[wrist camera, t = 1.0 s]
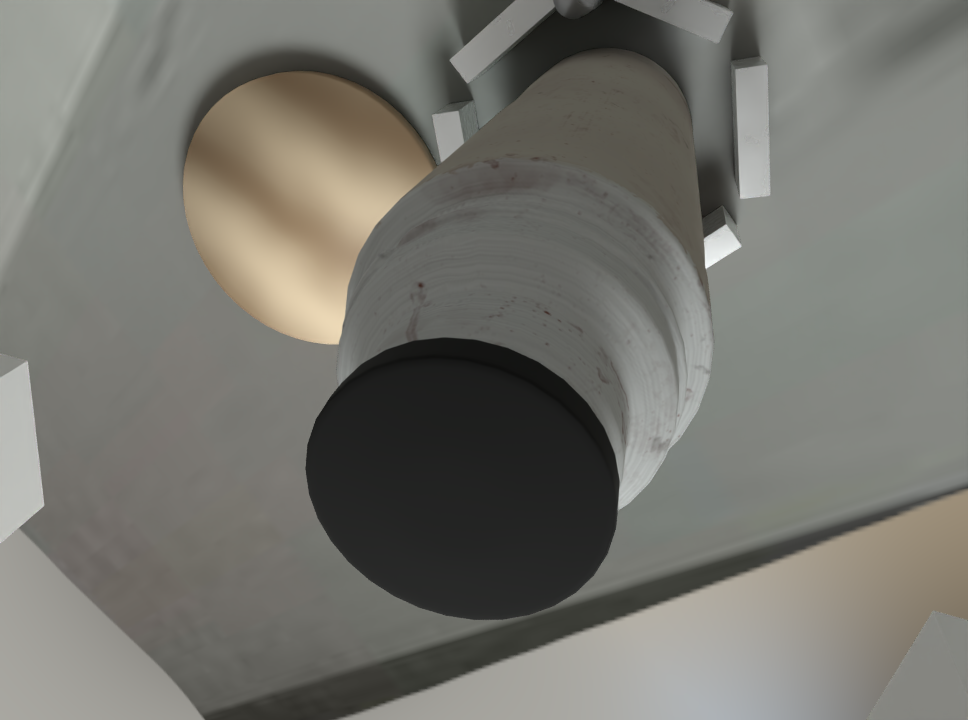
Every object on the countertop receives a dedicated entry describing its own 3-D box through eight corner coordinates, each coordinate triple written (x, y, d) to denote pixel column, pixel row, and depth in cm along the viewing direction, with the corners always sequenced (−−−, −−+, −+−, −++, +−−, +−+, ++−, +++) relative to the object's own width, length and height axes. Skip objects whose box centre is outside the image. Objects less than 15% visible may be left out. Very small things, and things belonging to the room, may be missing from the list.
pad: (218, 24, 38) (207, 25, 37) (488, 138, 37) (483, 143, 36) (175, 276, 45) (165, 282, 44) (403, 374, 44) (397, 383, 43)
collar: (510, -83, 33) (484, -90, 29) (833, 51, 33) (857, 66, 28) (413, 212, 40) (381, 244, 35) (680, 327, 40) (681, 372, 35)
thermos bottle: (708, 201, 37) (777, 690, 12) (543, 241, 39) (324, 712, 15) (671, 22, 34) (663, 190, 9) (496, 78, 36) (121, 326, 12)
